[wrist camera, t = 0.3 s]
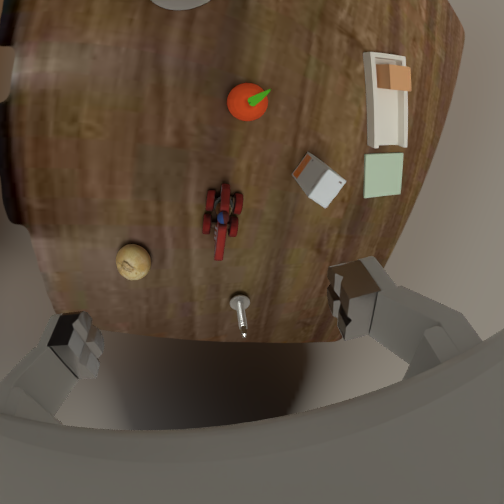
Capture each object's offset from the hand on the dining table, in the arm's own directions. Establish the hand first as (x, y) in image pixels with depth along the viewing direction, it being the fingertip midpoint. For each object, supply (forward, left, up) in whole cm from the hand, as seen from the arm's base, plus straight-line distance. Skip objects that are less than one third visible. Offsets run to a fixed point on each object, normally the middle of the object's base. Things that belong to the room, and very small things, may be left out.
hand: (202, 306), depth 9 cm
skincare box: (+12, +17, -47) cm, 52 cm away
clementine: (-3, +7, -47) cm, 48 cm away
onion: (+25, -22, -47) cm, 58 cm away
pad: (+15, +35, -47) cm, 60 cm away
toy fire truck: (+18, -1, -47) cm, 50 cm away
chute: (-2, +35, -47) cm, 59 cm away
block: (-7, +35, -46) cm, 59 cm away
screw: (+42, -1, -47) cm, 63 cm away
